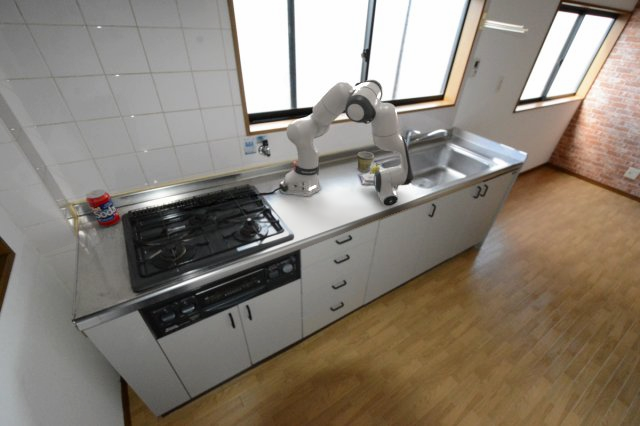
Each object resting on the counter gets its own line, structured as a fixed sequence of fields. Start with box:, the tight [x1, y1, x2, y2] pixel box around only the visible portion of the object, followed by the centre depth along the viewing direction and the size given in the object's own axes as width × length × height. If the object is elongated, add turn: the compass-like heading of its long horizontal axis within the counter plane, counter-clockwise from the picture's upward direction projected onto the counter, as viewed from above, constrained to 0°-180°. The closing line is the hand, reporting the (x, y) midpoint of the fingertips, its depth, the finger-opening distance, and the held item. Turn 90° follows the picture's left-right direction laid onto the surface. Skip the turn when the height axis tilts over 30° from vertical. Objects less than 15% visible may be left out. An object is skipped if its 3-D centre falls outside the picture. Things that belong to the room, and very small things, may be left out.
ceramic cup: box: [357, 151, 375, 173], centre depth 172 cm, size 13×10×10 cm
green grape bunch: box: [370, 162, 381, 174], centre depth 159 cm, size 6×6×11 cm
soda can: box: [85, 189, 121, 227], centre depth 116 cm, size 8×8×15 cm
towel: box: [358, 174, 366, 186], centre depth 163 cm, size 15×12×1 cm
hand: (377, 172), depth 156 cm, fingers open, 8 cm apart
